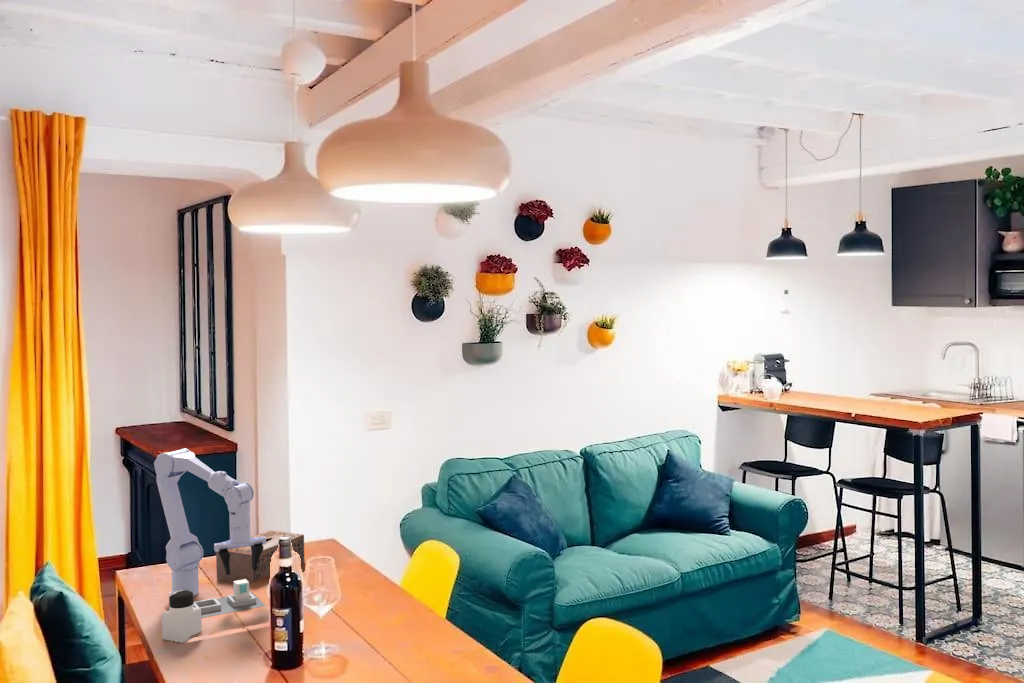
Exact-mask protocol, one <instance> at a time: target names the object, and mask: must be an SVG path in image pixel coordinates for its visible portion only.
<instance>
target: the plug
mask: <svg viewBox="0 0 1024 683" xmlns="http://www.w3.org/2000/svg"><path fill="white" fill-rule="evenodd" d="M232 584H233V585H232V586H233V595H234V600H235V601H238V600H243V599H249V598H250V596H249V592H250V582H248V581H247V580H246V579H243V580H237V581H233V582H232Z"/></svg>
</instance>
